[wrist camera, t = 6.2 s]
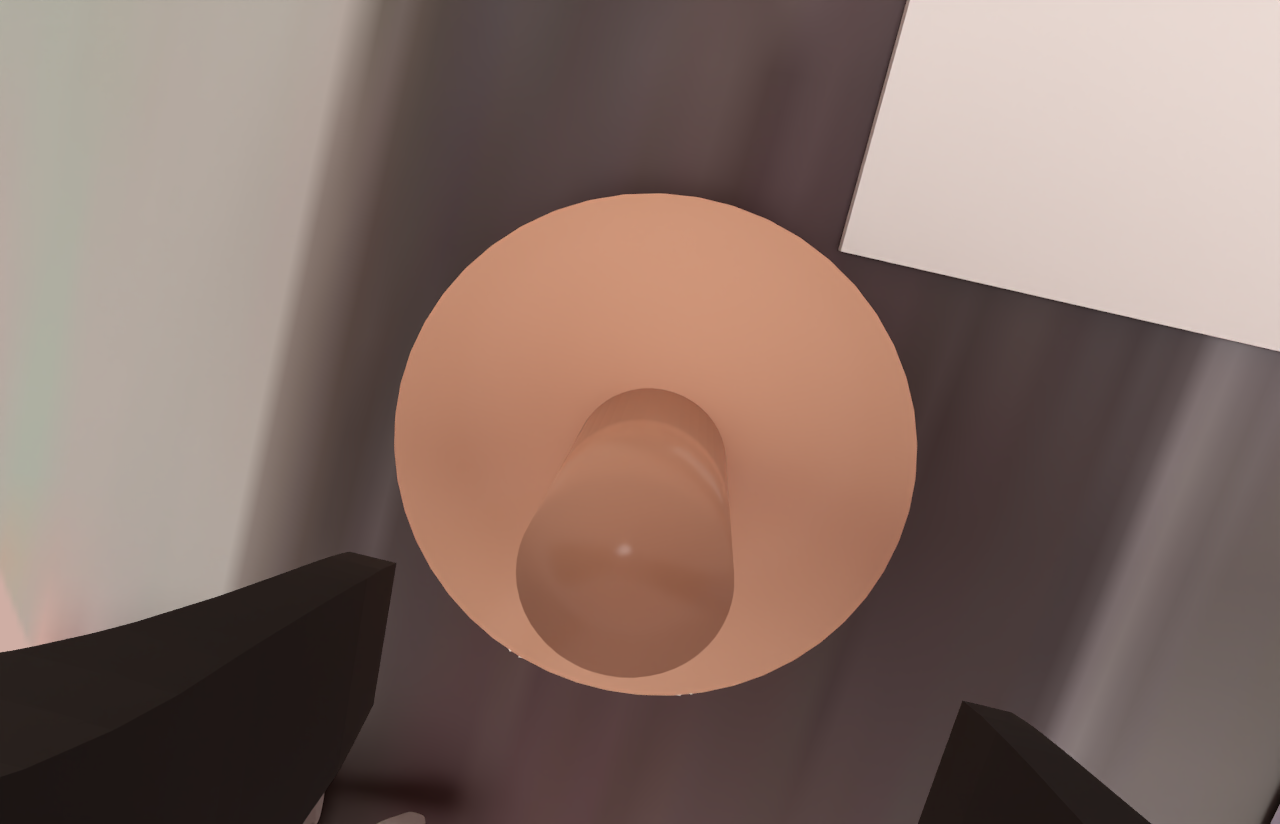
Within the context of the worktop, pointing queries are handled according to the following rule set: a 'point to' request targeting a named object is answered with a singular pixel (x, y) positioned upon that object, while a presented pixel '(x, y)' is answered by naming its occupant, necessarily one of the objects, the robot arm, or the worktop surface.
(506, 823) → the worktop surface
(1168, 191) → the mat
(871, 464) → the lid
